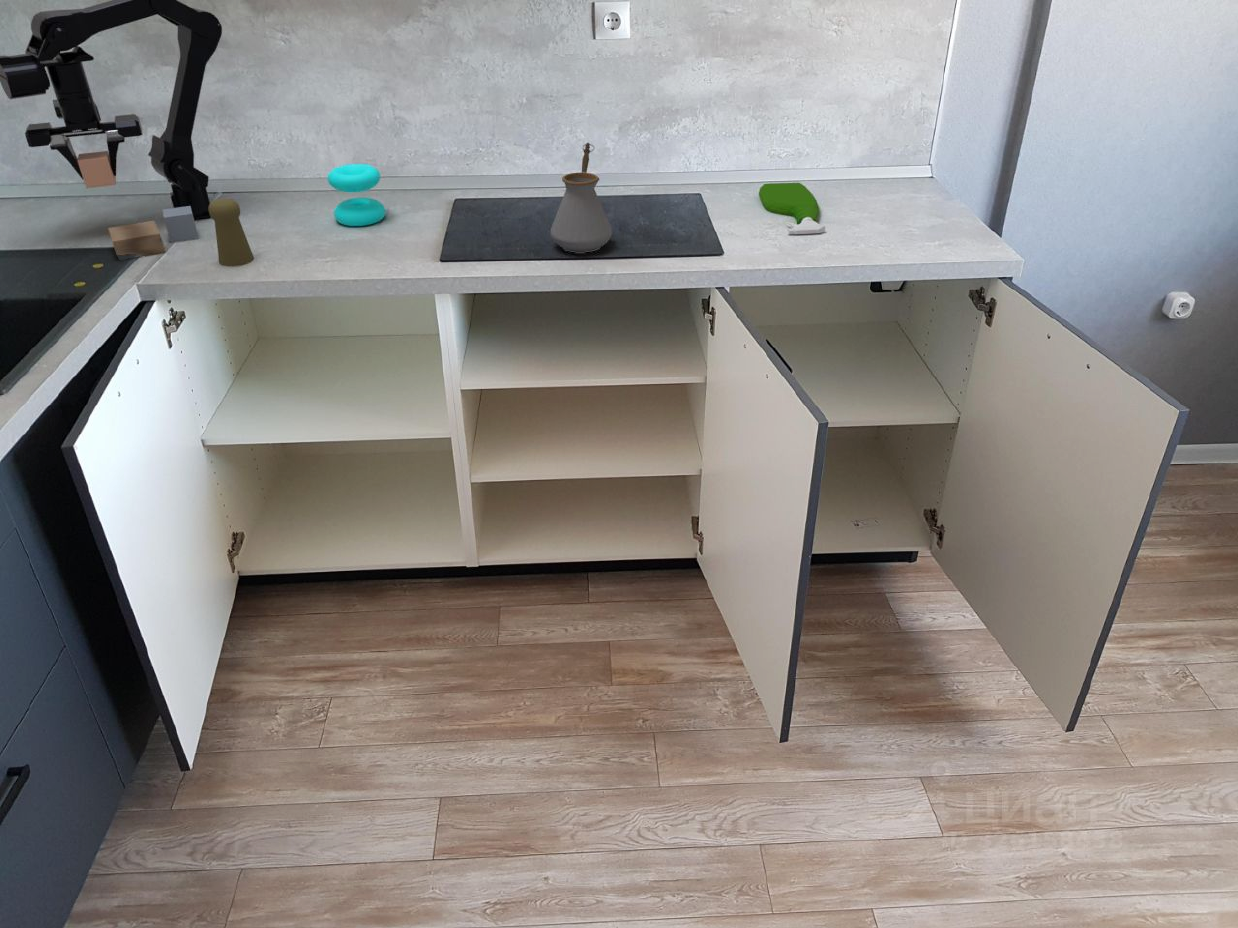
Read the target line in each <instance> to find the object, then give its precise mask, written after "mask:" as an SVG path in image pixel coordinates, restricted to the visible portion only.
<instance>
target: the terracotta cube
mask: <svg viewBox="0 0 1238 928" xmlns="http://www.w3.org/2000/svg"><path fill="white" fill-rule="evenodd" d="M77 158H78V164H79V167H80V170H81V173H82V177H83V179H82V181H83V182H84V185H85V188H86V189H92V188H100V187H108V186H116V185H117V183H116V181H117V177H116V176H117V175H116V176H114V175H113V172H112V169H111V163H110V157H109V151H108V150H105V151H95V152H94V151H93V152H85V153H78V155H77Z"/></svg>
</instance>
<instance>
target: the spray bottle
mask: <svg viewBox="0 0 1238 928" xmlns="http://www.w3.org/2000/svg"><path fill="white" fill-rule="evenodd" d="M758 196H759V200H760V202H761V203H762V205H763V207H764V209H766V210H767V212H769V213H772V214H776V215H781V216H787V217H793V218H794V219H796V220H795V221H796V223H792V222H788V221H785V223H784V224H785V225H787V226H789V227H790V228H787V234H788V235H809V234H812V235H813V234H821V233H825V231H826V225H823V224H821V223H818V222H817V221H818V218H819V213H820V206H819V204H818V201H817V199H816V197H815V196H814V194H812V192H811V191H810V190H809V189H808V188H807V187H806V186H805V185H804V184H802V183H801V182H777V183H776V182H775V183H771V182H770V183H764V184H763V185H761V187H760V188H759V191H758Z"/></svg>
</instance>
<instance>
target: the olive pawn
mask: <svg viewBox="0 0 1238 928" xmlns="http://www.w3.org/2000/svg"><path fill="white" fill-rule="evenodd" d="M208 210H209V214H210V216H211V217H210V218H211V219H212V220H213V221H214V227H215V236H216V237H215V238H216V244H217V245H216V246H217V256H218V262H219V264H220V265H221V266H224V267H239V266H244V265H247V264H249V263H251V262H252V261H254V259H255V258H254V255H253V252H252V249H251V247H250V244H249V241H248V239H247V237H246V233H245V230H244V227H243V225H242V223H241V220H240V215H241V208H240V205H239V204H238V202H237V201H236V200H235V199H231V198H218V199H214V200H213V201H210V204H209V207H208Z"/></svg>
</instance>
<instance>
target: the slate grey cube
mask: <svg viewBox="0 0 1238 928" xmlns="http://www.w3.org/2000/svg"><path fill="white" fill-rule="evenodd" d="M162 216H163V220H164V224H165V227H166V230H167V235H168V237H169V241H170V243H171V244H173V243H179V242H186V241H187V242H188V241H192V240H199V239H200V237H199V235H198V230H197V225H196V222H195V219H194V218H193V214H192V210H191V206H186V207H178V208H174V207H171V208H165V209H162Z"/></svg>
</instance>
